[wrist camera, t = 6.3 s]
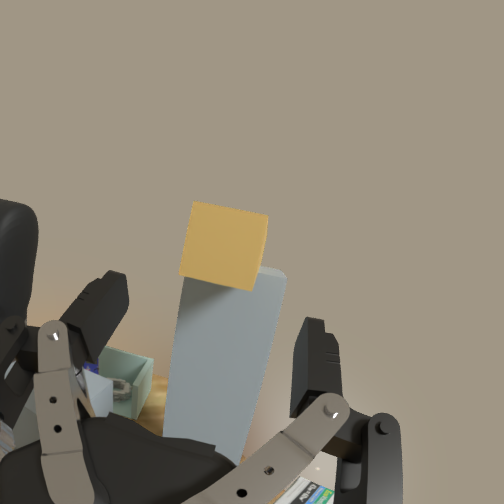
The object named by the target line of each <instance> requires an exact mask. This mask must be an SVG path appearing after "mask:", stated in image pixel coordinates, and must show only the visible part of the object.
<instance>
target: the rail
mask: <svg viewBox="0 0 504 504" xmlns="http://www.w3.org/2000/svg"><path fill="white" fill-rule="evenodd" d="M267 228H268V215H263V214H258V213H253V212H248V211H243V210H238V209H233V208H228V207H223V206H218V205H213V204H207V203H202V202H197V201H194V202H193V206H192V211H191V215H190V220H189V225H188V229H187V234H186V239H185V244H184V249H183V254H182V259H181V264H180V269H179V275H182V276H186V277H190V278H194V279H198V280H203V281H207V282H211V283H215V284H220V285H224V286H229V287H233V288H238V289H242V290H247V291H251V292H252V290H253V287H254V284H255V281H256V277H257V274H258V271H259V268H260V265H261V261H262V256H263V252H264V247H265V242H266V237H267Z"/></svg>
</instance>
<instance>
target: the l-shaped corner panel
mask: <svg viewBox="0 0 504 504" xmlns="http://www.w3.org/2000/svg"><path fill="white" fill-rule="evenodd" d="M98 358H99V375H100V376H102V377H105V378H107V379H110V380H112V381H113V413H115V414H118V415H122V416H125V417H128V418H132V419H135V420H137V418H138V416H139V414H140V412H141V409H142V407H143V405H144V403H145V401H146V399H147V396H148V394H149V392H150V390H151V382H152V371H153V362H154V359H151V358H147V357H144V356H140V355H136V354H133V353H129V352H126V351H122V350H119V349H115V348H112V347H109V346H106V345H105V347H104V349H103V350H102V352H101V354H100V355H99V357H98ZM131 386H132V387H131ZM131 388H132V389H131Z"/></svg>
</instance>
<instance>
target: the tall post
mask: <svg viewBox="0 0 504 504" xmlns="http://www.w3.org/2000/svg"><path fill="white" fill-rule="evenodd" d="M286 283H287V278H286V276H285V275H284V274H283V272H282V271H281V270H278V269H273V268H268V267H263V266H260V268H259V271H258V274H257V277H256V281H255V284H254V287H253V290H252V292H251V291H247V290H242V289H238V288H233V287H229V286H224V285H220V284H215V283H211V282H207V281H203V280H198V279H194V278H190V277H186V276H185V277H184V282H183V288H182V294H181V299H180V306H179V311H178V317H177V324H176V331H175V337H174V343H173V350H172V357H171V365H170V373H169V380H168V388H167V397H166V406H165V416H164V426H163V437H172V438H188V439H192V440H196V441H200V442H204V443H208V444H213V445H216V448H215V451H216V452H218V453H221V454H222V455H224V456H225V457H227V458H228V459H230V460H231V461H232V462H233V463H234V464H235V465H236V466H238V465H239V462H240V459H241V456H242V452H243V449H244V446H245V442H246V439H247V435H248V432H249V428H250V424H251V421H252V417H253V414H254V411H255V407H256V403H257V400H258V396H259V392H260V389H261V385H262V381H263V377H264V373H265V370H266V366H267V362H268V358H269V354H270V350H271V346H272V342H273V338H274V334H275V330H276V326H277V322H278V317H279V313H280V309H281V305H282V300H283V296H284V292H285V287H286Z"/></svg>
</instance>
